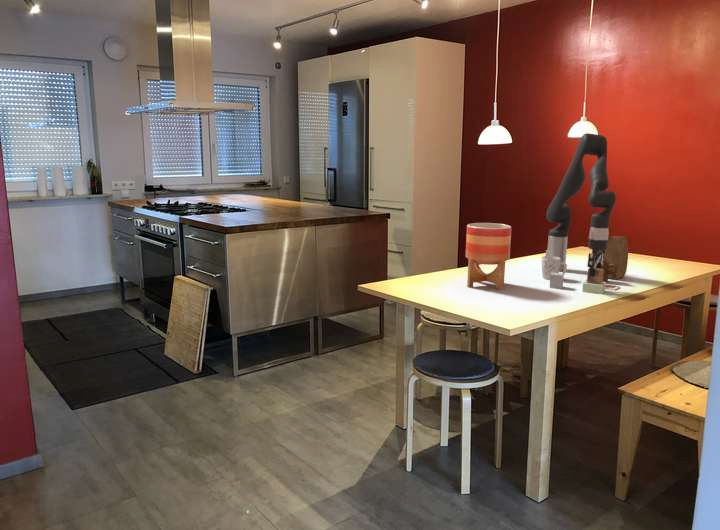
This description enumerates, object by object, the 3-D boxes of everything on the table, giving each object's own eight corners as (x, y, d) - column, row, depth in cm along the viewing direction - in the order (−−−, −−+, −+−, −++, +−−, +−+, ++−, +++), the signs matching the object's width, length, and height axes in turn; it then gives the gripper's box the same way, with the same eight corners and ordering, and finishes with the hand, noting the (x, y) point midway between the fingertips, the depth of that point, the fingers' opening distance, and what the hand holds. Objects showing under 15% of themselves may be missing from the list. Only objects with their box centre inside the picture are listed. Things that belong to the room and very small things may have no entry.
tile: (598, 287, 255) (598, 285, 255) (603, 285, 260) (603, 283, 260) (614, 290, 251) (615, 288, 251) (619, 287, 256) (620, 285, 256)
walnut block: (586, 282, 248) (587, 268, 247) (590, 280, 252) (592, 267, 251) (598, 284, 245) (599, 270, 244) (602, 282, 249) (603, 268, 248)
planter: (482, 292, 245) (486, 229, 240) (454, 282, 262) (457, 223, 257) (518, 287, 254) (522, 227, 249) (488, 278, 271) (491, 221, 266)
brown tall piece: (614, 280, 271) (618, 238, 267) (600, 277, 277) (604, 236, 273) (628, 278, 277) (632, 236, 273) (614, 275, 283) (618, 234, 279)
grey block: (549, 287, 255) (550, 274, 253) (551, 285, 259) (552, 272, 258) (561, 289, 253) (562, 275, 251) (562, 286, 257) (563, 273, 256)
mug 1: (566, 278, 274) (568, 257, 272) (564, 281, 267) (566, 260, 265) (541, 275, 279) (543, 255, 277) (539, 279, 271) (540, 258, 270)
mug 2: (620, 283, 265) (622, 263, 264) (611, 285, 261) (613, 264, 259) (595, 278, 275) (597, 259, 273) (587, 280, 270) (588, 260, 268)
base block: (582, 292, 248) (583, 283, 247) (585, 288, 255) (586, 279, 254) (602, 294, 244) (603, 285, 243) (604, 291, 251) (605, 282, 250)
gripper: (595, 235, 253) (591, 271, 256) (583, 238, 242) (580, 276, 245) (613, 237, 248) (609, 274, 251) (602, 240, 237) (598, 279, 240)
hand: (595, 275), depth 248 cm, fingers open, 8 cm apart
